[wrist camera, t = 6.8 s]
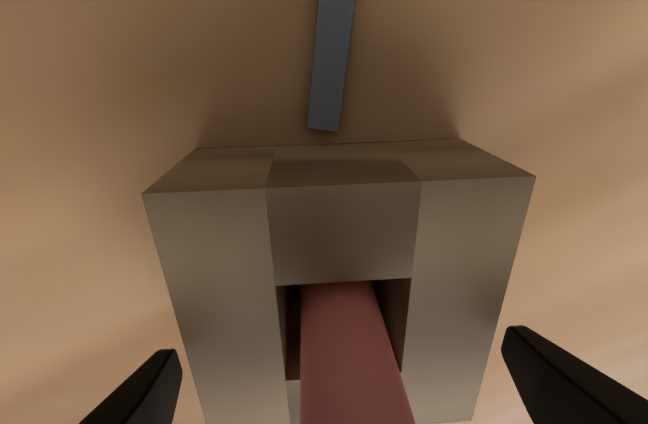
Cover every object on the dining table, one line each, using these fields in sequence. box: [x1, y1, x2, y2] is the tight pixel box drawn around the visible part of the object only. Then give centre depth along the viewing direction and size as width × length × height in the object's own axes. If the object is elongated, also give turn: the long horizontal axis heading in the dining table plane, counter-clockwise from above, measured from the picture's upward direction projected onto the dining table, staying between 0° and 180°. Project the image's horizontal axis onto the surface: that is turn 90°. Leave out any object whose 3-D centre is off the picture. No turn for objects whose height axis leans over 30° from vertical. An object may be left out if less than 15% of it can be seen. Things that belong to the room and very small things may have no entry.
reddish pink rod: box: [300, 280, 416, 424], centre depth 9 cm, size 2×2×9 cm
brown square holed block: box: [141, 139, 536, 424], centre depth 11 cm, size 9×9×4 cm
